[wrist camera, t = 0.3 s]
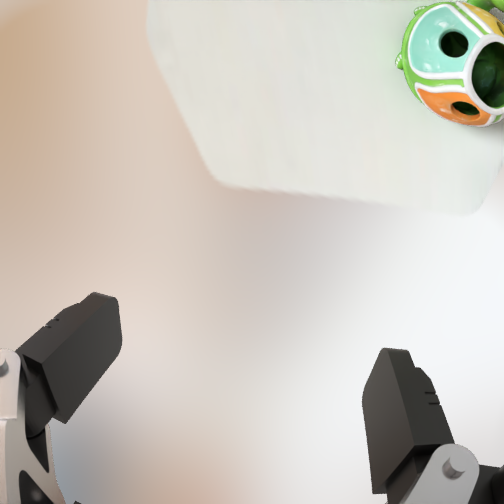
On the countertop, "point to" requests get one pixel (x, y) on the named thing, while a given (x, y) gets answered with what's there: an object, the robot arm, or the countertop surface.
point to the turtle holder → (457, 61)
